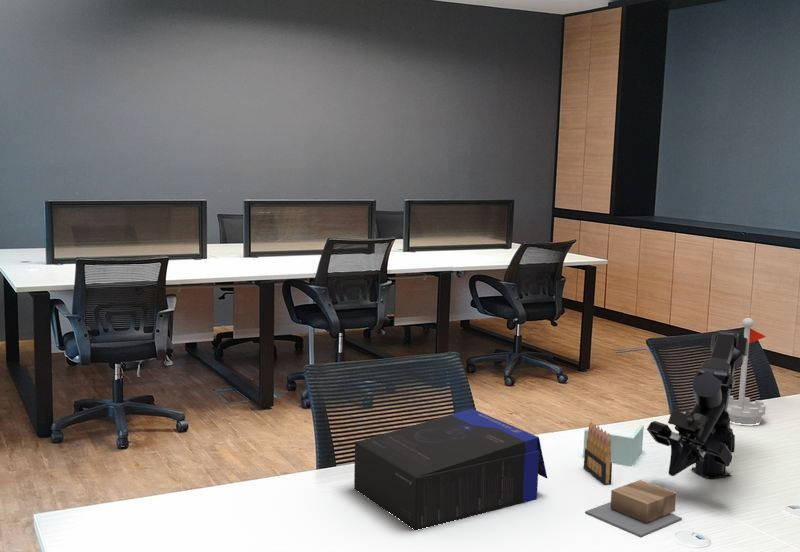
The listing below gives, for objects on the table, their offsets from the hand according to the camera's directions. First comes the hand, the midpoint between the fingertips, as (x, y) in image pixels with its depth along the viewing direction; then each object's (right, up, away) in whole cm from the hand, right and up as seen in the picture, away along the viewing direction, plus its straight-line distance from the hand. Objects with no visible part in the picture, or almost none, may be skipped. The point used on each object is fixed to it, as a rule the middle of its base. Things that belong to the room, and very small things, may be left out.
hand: (670, 474), depth 187 cm
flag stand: (+39, +2, +61) cm, 72 cm away
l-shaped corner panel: (-5, -2, +30) cm, 30 cm away
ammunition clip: (-13, -4, +15) cm, 20 cm away
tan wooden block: (-4, -4, -3) cm, 6 cm away
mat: (-10, -7, -7) cm, 14 cm away
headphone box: (-48, -5, +3) cm, 48 cm away
